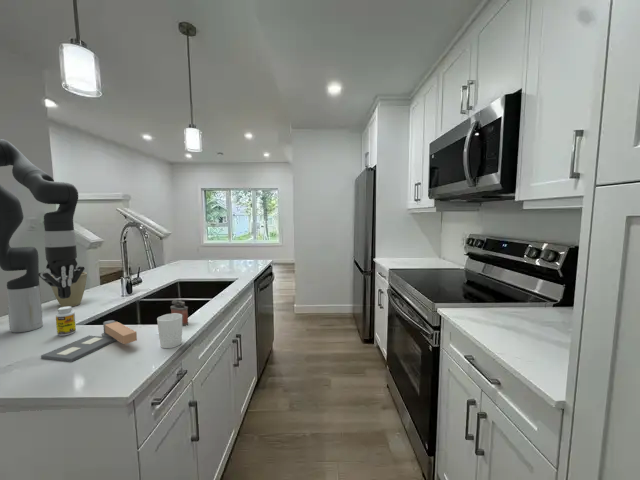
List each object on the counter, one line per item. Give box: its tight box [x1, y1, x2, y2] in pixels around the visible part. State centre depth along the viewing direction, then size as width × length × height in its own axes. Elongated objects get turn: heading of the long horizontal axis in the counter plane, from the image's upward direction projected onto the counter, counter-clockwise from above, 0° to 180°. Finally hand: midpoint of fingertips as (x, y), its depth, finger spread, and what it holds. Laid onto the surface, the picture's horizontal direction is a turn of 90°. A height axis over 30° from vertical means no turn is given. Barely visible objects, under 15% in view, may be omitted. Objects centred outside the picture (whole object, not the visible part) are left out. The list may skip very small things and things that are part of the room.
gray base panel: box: [40, 332, 117, 363], centre depth 104 cm, size 12×22×1 cm, turn 169°
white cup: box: [156, 313, 183, 349], centre depth 104 cm, size 8×8×10 cm
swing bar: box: [102, 319, 138, 345], centre depth 106 cm, size 21×4×4 cm, turn 53°
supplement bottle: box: [55, 306, 77, 337], centre depth 114 cm, size 6×6×10 cm
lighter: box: [170, 300, 189, 327], centre depth 123 cm, size 8×3×10 cm, turn 71°
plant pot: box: [50, 271, 88, 308], centre depth 150 cm, size 15×15×16 cm
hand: (64, 297), depth 95 cm, fingers closed
